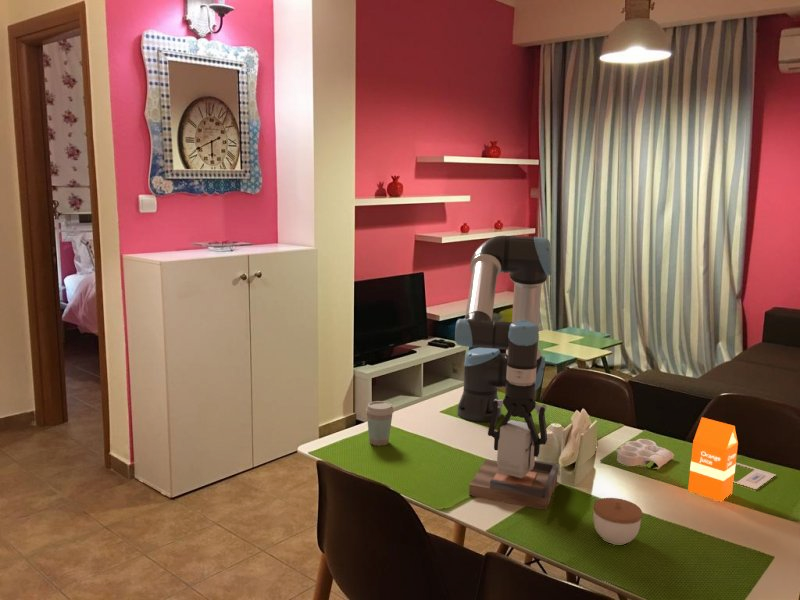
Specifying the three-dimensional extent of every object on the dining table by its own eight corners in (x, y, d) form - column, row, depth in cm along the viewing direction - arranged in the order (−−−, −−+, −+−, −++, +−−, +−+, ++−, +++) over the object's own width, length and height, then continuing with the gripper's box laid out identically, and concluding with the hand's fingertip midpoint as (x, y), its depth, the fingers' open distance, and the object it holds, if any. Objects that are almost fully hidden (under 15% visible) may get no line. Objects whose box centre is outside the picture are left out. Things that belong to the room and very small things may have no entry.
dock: (485, 469, 201) (486, 452, 200) (557, 481, 194) (558, 464, 193) (468, 495, 184) (469, 477, 183) (546, 510, 177) (547, 491, 176)
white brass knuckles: (653, 476, 200) (605, 461, 210) (677, 458, 214) (630, 445, 223) (654, 464, 200) (605, 450, 209) (678, 447, 213) (631, 434, 223)
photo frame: (756, 488, 192) (691, 467, 204) (755, 492, 192) (690, 470, 205) (776, 473, 202) (712, 454, 214) (775, 477, 202) (712, 458, 215)
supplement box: (522, 479, 183) (525, 432, 181) (496, 472, 187) (499, 426, 185) (533, 469, 189) (536, 424, 187) (507, 462, 193) (510, 418, 191)
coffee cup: (394, 438, 222) (395, 401, 220) (391, 448, 214) (392, 410, 211) (367, 436, 223) (367, 399, 221) (363, 446, 214) (363, 408, 212)
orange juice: (699, 483, 196) (707, 413, 192) (732, 494, 189) (741, 422, 186) (687, 491, 190) (695, 420, 187) (720, 502, 184) (729, 429, 180)
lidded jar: (614, 555, 157) (617, 516, 155) (581, 533, 166) (584, 495, 165) (649, 545, 162) (653, 506, 160) (615, 524, 171) (618, 487, 170)
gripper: (477, 380, 184) (473, 463, 188) (559, 391, 177) (553, 476, 181) (484, 373, 191) (480, 453, 195) (563, 383, 184) (557, 465, 188)
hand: (515, 464), depth 188 cm, fingers closed on supplement box, 8 cm apart
